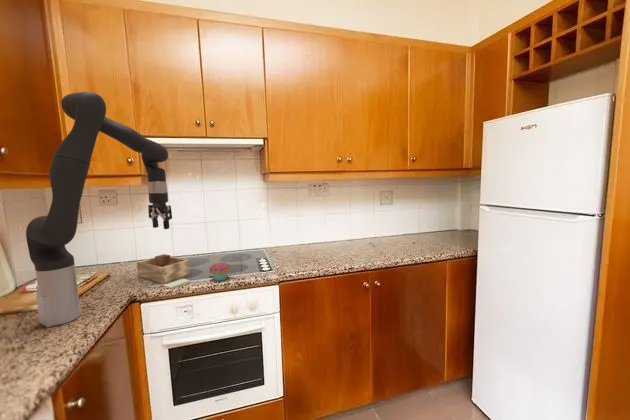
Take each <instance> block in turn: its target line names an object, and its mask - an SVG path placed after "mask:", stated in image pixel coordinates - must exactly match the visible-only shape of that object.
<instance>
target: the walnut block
mask: <svg viewBox="0 0 630 420" xmlns="http://www.w3.org/2000/svg"><path fill="white" fill-rule="evenodd" d="M170 257H171V255H170V254H164V253H163V254H159V255H156V256H154V258H155V265H156V266H159V267H164V266H168V265H171V260H170Z"/></svg>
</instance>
